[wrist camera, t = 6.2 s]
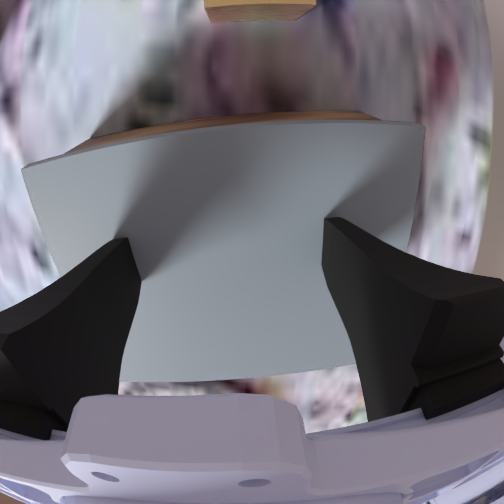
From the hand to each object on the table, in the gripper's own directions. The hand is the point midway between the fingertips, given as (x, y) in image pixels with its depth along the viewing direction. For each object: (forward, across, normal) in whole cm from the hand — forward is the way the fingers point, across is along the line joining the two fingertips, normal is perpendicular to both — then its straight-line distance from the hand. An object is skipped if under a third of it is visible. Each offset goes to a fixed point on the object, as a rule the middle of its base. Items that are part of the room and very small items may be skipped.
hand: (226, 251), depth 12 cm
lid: (+1, 0, +8) cm, 8 cm away
